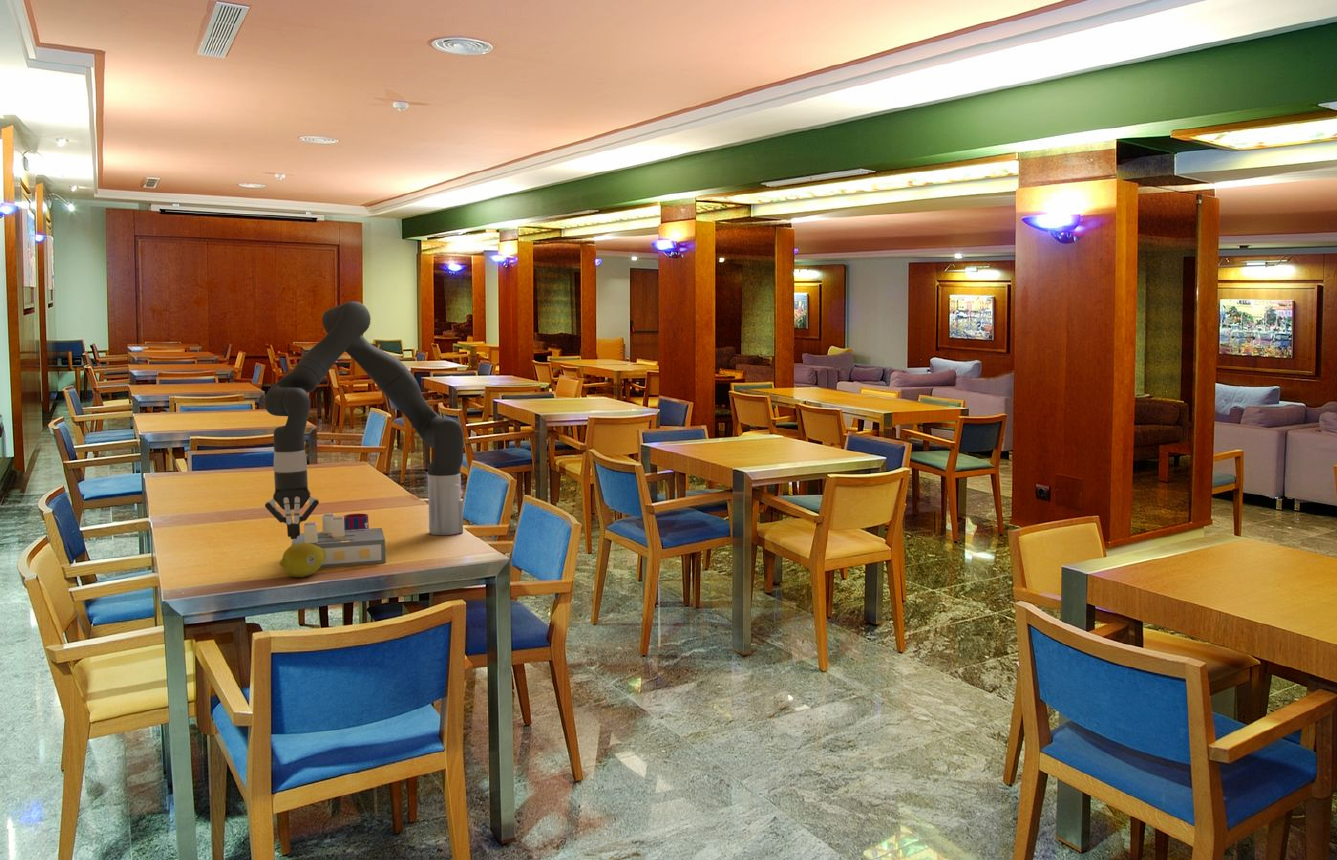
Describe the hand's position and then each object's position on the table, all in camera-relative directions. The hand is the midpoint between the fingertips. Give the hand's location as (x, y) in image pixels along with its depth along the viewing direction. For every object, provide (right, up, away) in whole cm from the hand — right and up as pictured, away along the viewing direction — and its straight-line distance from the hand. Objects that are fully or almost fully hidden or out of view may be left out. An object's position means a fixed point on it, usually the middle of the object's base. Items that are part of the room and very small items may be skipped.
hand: (293, 538), depth 240 cm
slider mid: (+8, -1, +9) cm, 12 cm away
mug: (+3, -4, +33) cm, 34 cm away
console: (+8, -6, +9) cm, 14 cm away
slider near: (+4, -1, +1) cm, 4 cm away
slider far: (+4, 0, +13) cm, 14 cm away
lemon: (+5, -8, -7) cm, 12 cm away
